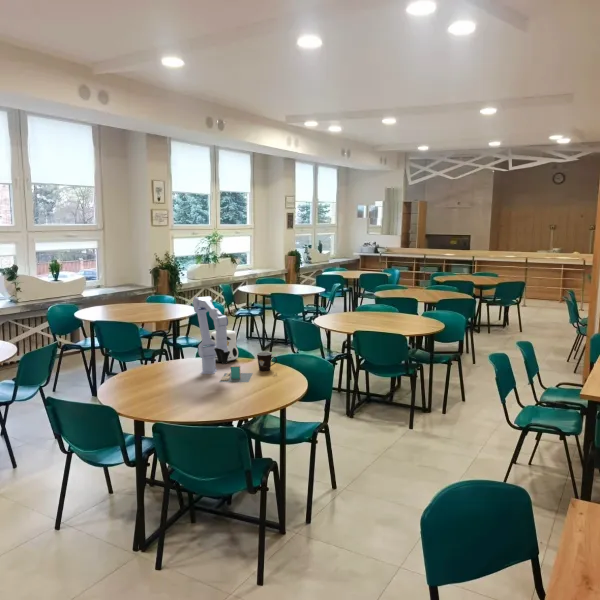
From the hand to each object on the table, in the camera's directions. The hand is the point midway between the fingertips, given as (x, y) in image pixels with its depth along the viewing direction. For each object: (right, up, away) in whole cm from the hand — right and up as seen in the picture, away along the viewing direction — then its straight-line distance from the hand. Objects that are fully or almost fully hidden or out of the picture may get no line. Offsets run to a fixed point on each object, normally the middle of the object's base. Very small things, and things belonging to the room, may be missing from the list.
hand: (222, 362), depth 299 cm
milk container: (-5, -4, +45) cm, 45 cm away
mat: (+7, -9, +4) cm, 13 cm away
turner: (+2, -9, +6) cm, 11 cm away
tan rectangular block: (+7, -9, +2) cm, 12 cm away
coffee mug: (+23, -7, +19) cm, 30 cm away
